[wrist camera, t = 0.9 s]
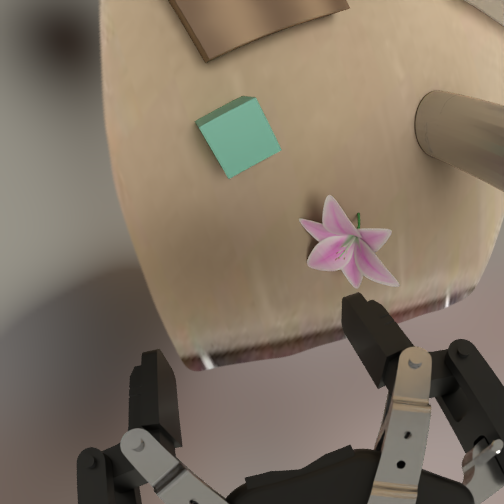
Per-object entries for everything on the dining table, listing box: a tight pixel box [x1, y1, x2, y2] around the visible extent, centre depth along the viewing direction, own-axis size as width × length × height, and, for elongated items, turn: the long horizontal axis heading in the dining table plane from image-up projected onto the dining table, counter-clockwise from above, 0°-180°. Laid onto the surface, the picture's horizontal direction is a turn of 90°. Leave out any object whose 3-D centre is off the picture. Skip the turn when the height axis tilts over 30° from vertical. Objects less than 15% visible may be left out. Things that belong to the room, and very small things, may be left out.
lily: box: [299, 195, 400, 289], centre depth 33 cm, size 12×12×10 cm
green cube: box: [195, 96, 281, 179], centre depth 25 cm, size 5×5×5 cm
